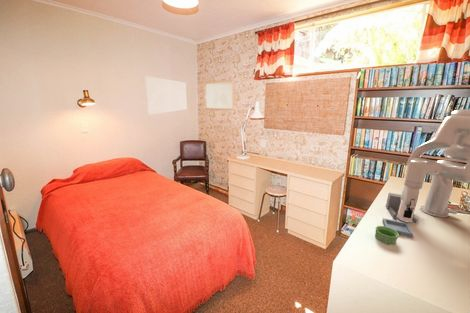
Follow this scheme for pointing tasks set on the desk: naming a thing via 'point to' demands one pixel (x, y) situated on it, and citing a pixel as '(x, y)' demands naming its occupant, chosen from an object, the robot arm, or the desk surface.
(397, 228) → the tray
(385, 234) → the ramekin
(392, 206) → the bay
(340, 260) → the desk surface
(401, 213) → the can
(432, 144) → the robot arm
